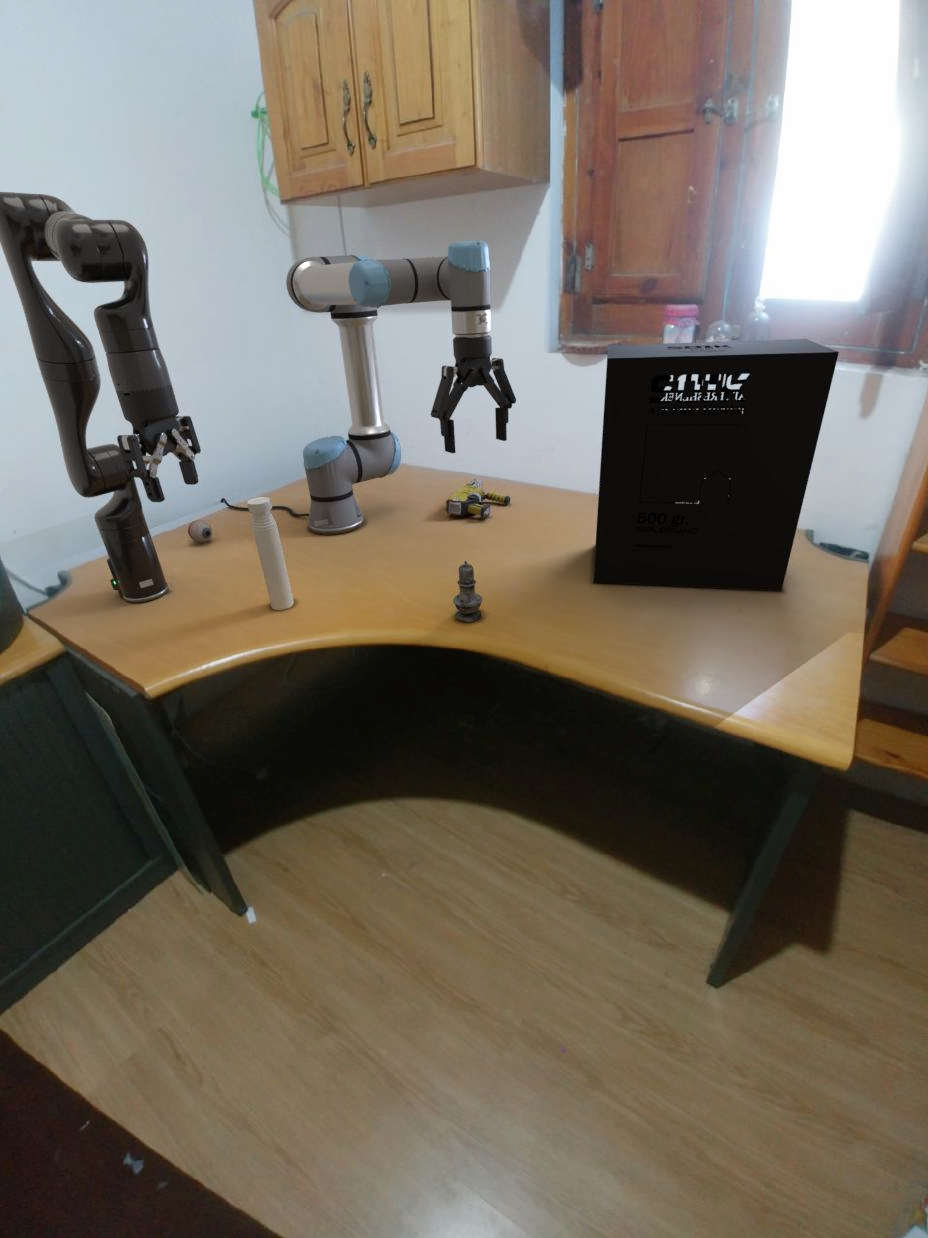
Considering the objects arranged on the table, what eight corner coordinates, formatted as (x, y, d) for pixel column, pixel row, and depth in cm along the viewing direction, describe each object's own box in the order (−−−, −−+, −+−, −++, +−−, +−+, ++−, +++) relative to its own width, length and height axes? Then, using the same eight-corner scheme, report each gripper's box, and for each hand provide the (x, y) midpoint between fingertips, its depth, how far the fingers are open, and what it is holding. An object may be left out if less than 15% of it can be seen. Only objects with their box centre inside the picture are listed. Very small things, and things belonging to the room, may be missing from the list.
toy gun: (518, 484, 183) (472, 477, 187) (496, 507, 163) (444, 499, 167) (517, 499, 185) (471, 492, 189) (494, 524, 165) (443, 515, 169)
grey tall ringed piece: (480, 623, 118) (477, 567, 112) (451, 621, 119) (447, 566, 113) (485, 608, 123) (483, 554, 117) (457, 607, 124) (453, 553, 118)
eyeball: (201, 547, 160) (195, 526, 157) (186, 543, 163) (180, 522, 160) (220, 539, 164) (214, 518, 161) (205, 536, 167) (199, 515, 164)
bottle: (290, 597, 132) (268, 496, 121) (296, 606, 129) (274, 503, 117) (269, 603, 130) (244, 501, 119) (274, 612, 127) (249, 508, 115)
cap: (269, 504, 121) (267, 495, 120) (274, 510, 118) (272, 501, 117) (247, 508, 120) (244, 499, 119) (251, 515, 116) (249, 506, 115)
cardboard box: (760, 550, 140) (805, 338, 118) (781, 591, 123) (838, 351, 101) (595, 545, 148) (608, 345, 125) (593, 582, 131) (607, 358, 108)
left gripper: (153, 376, 94) (183, 478, 102) (84, 393, 82) (123, 507, 90) (195, 375, 92) (222, 479, 101) (130, 392, 81) (166, 508, 89)
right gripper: (429, 342, 108) (437, 460, 118) (533, 329, 120) (532, 437, 131) (407, 340, 113) (417, 454, 124) (508, 328, 125) (510, 432, 136)
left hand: (175, 492), depth 95 cm, fingers open, 8 cm apart
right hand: (476, 445), depth 127 cm, fingers open, 13 cm apart
